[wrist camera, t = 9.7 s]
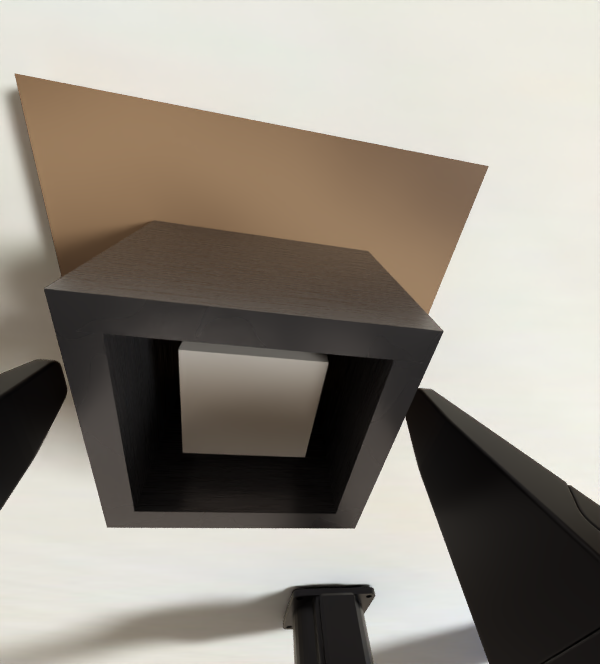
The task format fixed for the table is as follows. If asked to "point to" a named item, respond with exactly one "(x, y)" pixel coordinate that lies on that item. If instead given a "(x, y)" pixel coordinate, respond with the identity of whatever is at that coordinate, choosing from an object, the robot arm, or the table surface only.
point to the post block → (240, 227)
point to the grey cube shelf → (238, 330)
